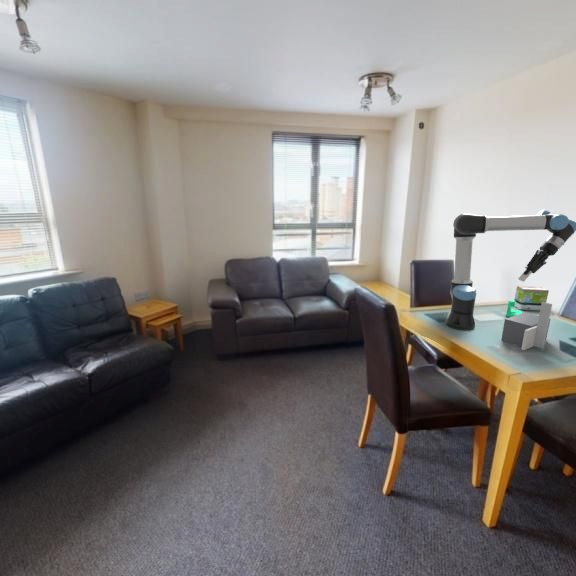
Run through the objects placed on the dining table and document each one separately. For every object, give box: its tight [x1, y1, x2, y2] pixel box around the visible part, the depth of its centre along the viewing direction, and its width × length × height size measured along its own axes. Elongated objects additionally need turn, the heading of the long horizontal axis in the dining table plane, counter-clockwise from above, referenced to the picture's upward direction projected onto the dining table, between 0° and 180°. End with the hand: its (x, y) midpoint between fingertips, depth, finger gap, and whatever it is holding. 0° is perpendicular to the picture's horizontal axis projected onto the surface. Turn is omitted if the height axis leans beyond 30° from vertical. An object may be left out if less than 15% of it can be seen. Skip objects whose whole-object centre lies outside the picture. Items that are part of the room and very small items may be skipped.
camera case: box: [500, 312, 551, 348], centre depth 166 cm, size 20×12×12 cm, turn 120°
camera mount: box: [505, 299, 523, 318], centre depth 204 cm, size 12×8×10 cm, turn 143°
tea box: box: [513, 285, 550, 311], centre depth 218 cm, size 15×10×15 cm, turn 81°
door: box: [520, 302, 553, 351], centre depth 152 cm, size 10×5×22 cm, turn 120°
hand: (520, 280), depth 175 cm, fingers closed
